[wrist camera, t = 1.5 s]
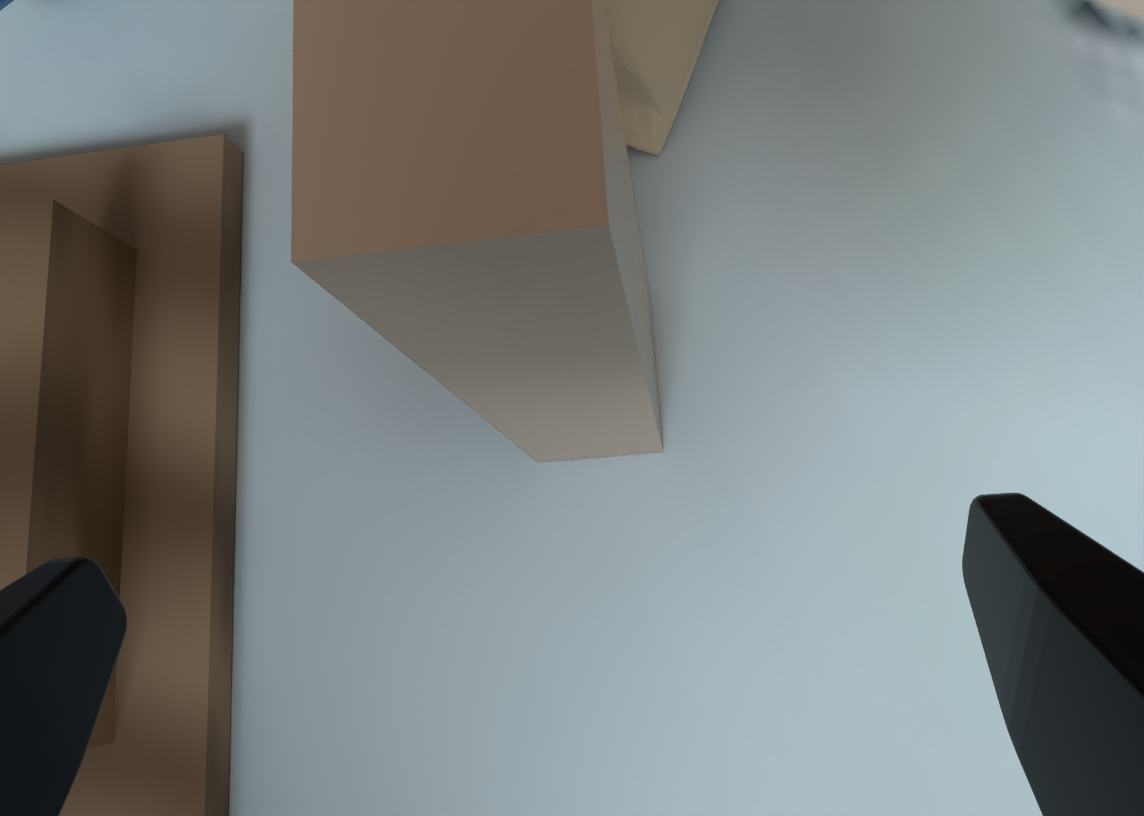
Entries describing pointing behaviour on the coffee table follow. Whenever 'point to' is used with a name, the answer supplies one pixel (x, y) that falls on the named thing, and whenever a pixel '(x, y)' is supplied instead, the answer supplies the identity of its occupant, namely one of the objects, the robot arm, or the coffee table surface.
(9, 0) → the grapes
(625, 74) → the decorative ornament
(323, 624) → the coffee table surface
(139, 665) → the walnut rack
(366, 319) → the brown rectangular box
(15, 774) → the robot arm
